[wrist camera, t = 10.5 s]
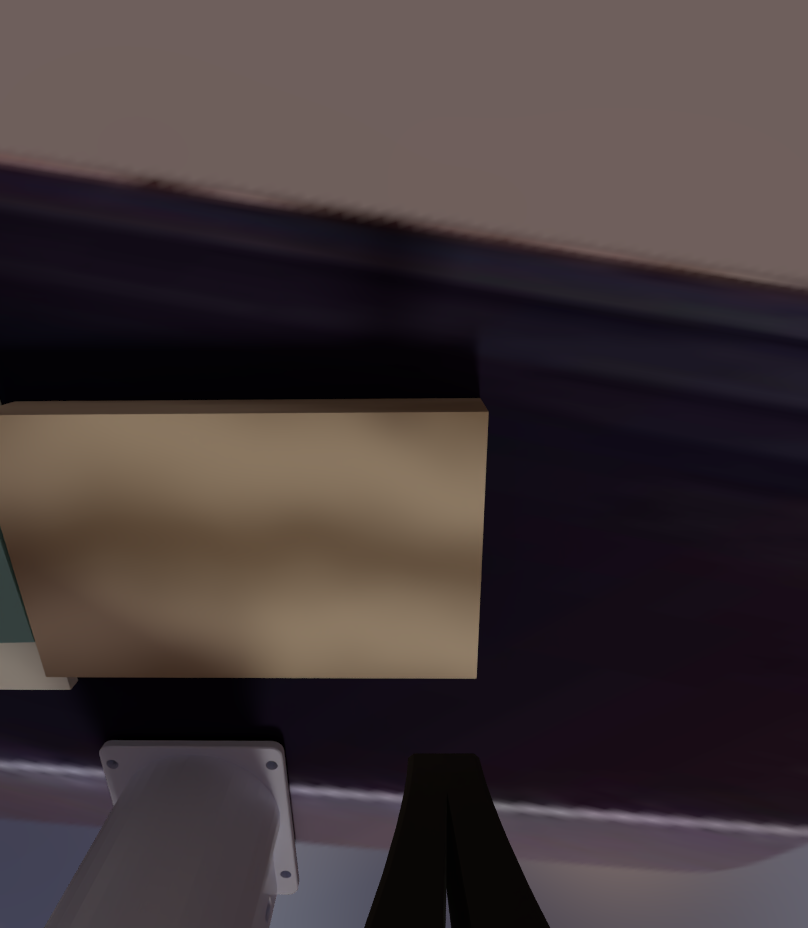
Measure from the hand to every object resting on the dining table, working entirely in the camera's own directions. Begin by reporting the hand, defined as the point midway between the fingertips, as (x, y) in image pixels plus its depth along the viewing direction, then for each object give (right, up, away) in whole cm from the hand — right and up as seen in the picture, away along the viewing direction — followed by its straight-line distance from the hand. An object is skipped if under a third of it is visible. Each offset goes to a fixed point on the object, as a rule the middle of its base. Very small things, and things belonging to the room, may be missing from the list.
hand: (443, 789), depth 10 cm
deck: (-6, +4, +9) cm, 11 cm away
